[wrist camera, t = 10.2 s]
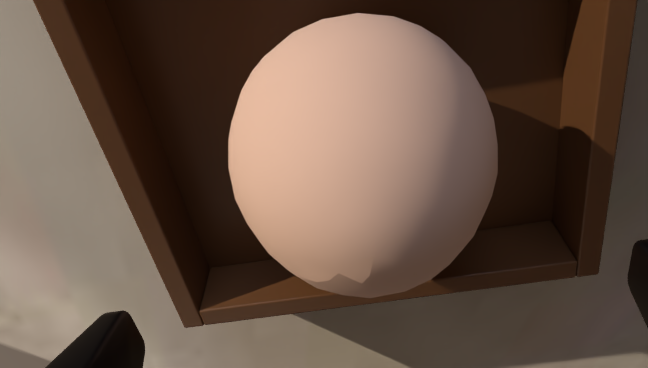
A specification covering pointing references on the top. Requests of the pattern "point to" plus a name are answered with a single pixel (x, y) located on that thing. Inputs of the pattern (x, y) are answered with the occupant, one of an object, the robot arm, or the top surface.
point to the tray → (265, 34)
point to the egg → (363, 154)
